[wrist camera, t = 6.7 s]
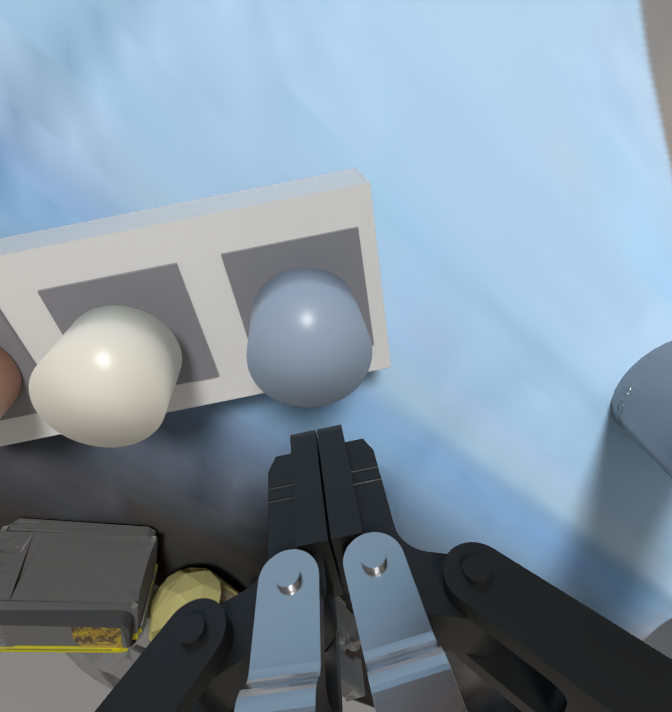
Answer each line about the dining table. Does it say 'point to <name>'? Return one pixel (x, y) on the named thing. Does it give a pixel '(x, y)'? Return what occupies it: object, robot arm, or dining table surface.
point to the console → (188, 279)
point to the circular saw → (109, 596)
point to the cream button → (108, 377)
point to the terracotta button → (8, 382)
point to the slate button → (307, 338)
